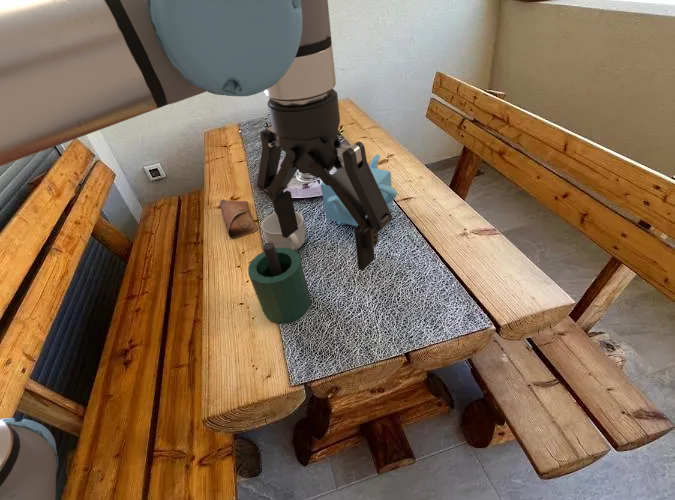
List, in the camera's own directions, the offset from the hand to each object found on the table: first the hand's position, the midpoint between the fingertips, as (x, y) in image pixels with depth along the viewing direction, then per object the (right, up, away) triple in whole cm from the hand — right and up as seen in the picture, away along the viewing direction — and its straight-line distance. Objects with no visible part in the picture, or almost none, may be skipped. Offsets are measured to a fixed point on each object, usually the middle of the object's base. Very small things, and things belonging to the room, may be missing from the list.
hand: (326, 247), depth 54 cm
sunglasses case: (-27, +8, +60) cm, 67 cm away
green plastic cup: (-9, -12, +31) cm, 35 cm away
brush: (-10, -12, +30) cm, 34 cm away
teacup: (-11, 0, +46) cm, 48 cm away
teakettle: (+7, +9, +53) cm, 54 cm away
